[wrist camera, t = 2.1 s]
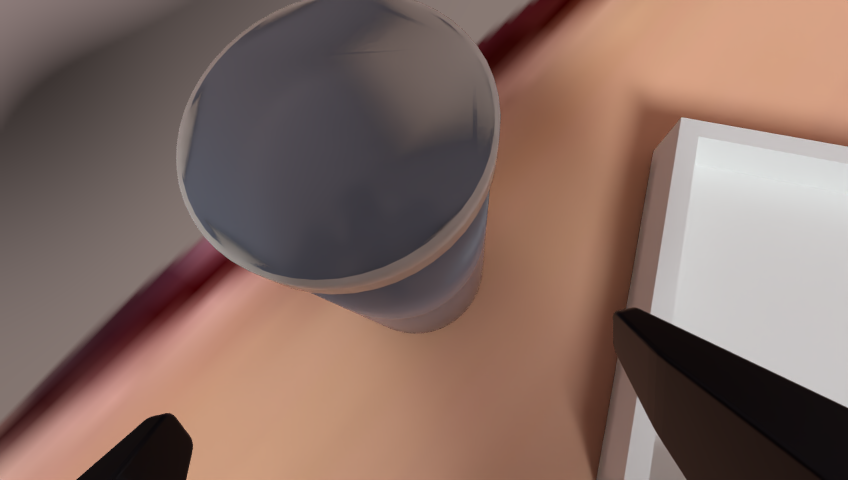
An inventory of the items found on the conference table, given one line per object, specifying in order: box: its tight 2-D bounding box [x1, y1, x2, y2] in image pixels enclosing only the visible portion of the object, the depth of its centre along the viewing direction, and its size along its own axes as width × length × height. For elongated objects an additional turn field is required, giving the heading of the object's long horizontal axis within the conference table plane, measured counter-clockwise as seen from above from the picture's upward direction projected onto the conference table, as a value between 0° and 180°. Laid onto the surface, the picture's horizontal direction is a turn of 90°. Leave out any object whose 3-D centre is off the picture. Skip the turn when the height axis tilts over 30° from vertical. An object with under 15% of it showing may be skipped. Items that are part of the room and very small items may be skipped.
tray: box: [596, 117, 848, 480], centre depth 16 cm, size 16×14×3 cm
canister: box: [176, 0, 501, 334], centre depth 15 cm, size 7×7×13 cm
